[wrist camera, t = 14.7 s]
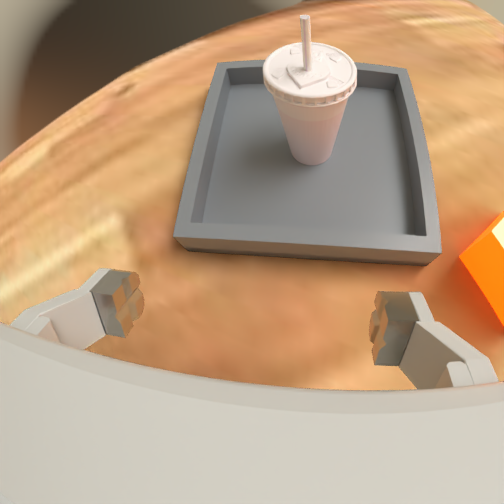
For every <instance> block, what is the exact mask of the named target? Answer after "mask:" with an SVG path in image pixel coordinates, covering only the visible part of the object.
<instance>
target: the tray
mask: <svg viewBox="0 0 504 504" xmlns="http://www.w3.org/2000/svg"><path fill="white" fill-rule="evenodd" d="M264 62H265V60H250V61H234V62H221V63H217V66H216V69H215V72H214V76H213V79H212V82H211V86H210V89H209V92H208V96H207V99H206V102H205V106H204V109H203V113H202V117H201V120H200V124H199V128H198V131H197V135H196V139H195V143H194V146H193V150H192V154H191V158H190V162H189V166H188V170H187V175H186V179H185V183H184V187H183V192H182V196H181V200H180V205H179V210H178V214H177V219H176V224H175V228H174V233H173V237H174V238H175V239H176V240H177V241H178V242H179V243H180V244H181V245H182V246H183V247H184V248H185V249H186V250H188V251H194V252H209V253H225V254H240V255H255V256H270V257H286V258H301V259H317V260H333V261H349V262H365V263H381V264H397V265H413V266H427V265H428V264H429V263H431V262H432V261H433V260H434V259H435V258H437V257H438V256H439V255H440V254H442V248H441V235H440V225H439V216H438V208H437V200H436V193H435V186H434V180H433V174H432V168H431V163H430V157H429V152H428V147H427V143H426V138H425V134H424V129H423V125H422V121H421V117H420V113H419V109H418V105H417V102H416V98H415V95H414V91H413V88H412V84H411V81H410V78H409V75H408V72H407V69H404V68H398V67H391V66H383V65H375V64H366V63H356V62H354V63H355V65H356V68H357V86H356V88H355V90H354V92H353V93H352V94H351V95H350V96H349V97H348V100H347V104H346V107H345V110H344V113H343V117H342V120H341V123H340V127H339V130H338V133H337V136H336V140H335V143H334V146H333V149H332V152H331V155H330V157H329V158H328V159H327V160H326V161H325V162H324V163H322V164H319V165H305V164H302V163H300V162H298V161H297V160H296V159H295V158H294V157H293V155H292V153H291V150H290V147H289V144H288V140H287V137H286V134H285V131H284V128H283V124H282V121H281V118H280V115H279V112H278V109H277V106H276V103H275V101H274V97H273V95H272V94H271V93H270V92H269V91H268V90H267V88H266V86H265V84H264V78H263V64H264Z"/></svg>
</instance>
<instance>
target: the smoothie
mask: <svg viewBox="0 0 504 504" xmlns="http://www.w3.org/2000/svg"><path fill="white" fill-rule="evenodd" d="M300 24H301V37H302V42H300V43H294V44H289V45H286V46H283V47H281V48H279V49H277V50H275V51H274V52H273V53H271V54H270V55H269V56H268V57H267V59H266V60H265V62H264V64H263V78H264V84H265V86H266V88H267V90H268V91H269V92H270V93H271V94H272V95H273V97H274V101H275V103H276V106H277V109H278V112H279V115H280V118H281V121H282V124H283V128H284V131H285V134H286V137H287V140H288V144H289V147H290V150H291V153H292V155H293V157H294V158H295V159H296V160H297V161H298V162H300V163H302V164H305V165H319V164H322V163H324V162H325V161H326V160H327V159H328V158H329V157H330V155H331V152H332V149H333V146H334V143H335V140H336V136H337V133H338V130H339V127H340V123H341V120H342V117H343V113H344V110H345V107H346V104H347V100H348V97H349V96H350V95H351V94H352V93H353V92H354V90H355V88H356V86H357V68H356V65H355V63H354V62H353V60H352V59H351V58H350V57H349V56H348V55H347V54H346V53H344V52H343V51H341V50H339V49H337V48H335V47H332V46H330V45H326V44H322V43H315V42H311V30H310V16H308V15H301V16H300Z"/></svg>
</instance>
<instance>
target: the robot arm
mask: <svg viewBox="0 0 504 504" xmlns="http://www.w3.org/2000/svg"><path fill="white" fill-rule="evenodd" d="M139 285H140V279H139V276H138V274H137V273H136V272H131V271H123V270H115V269H108V268H100V269H98V270H97V271H96V272H95V273H94V274H93V275H92V276H91V277H90V278H89V279H88V280H87V281H86V282H85V283H84V284H83V285H82V286H81V287H80V288H79V289H78V290H75V289H74V290H72V291H69V292H67V293H64V294H62V295H59V296H57V297H54V298H52V299H50V300H47V301H45V302H42V303H40V304H38V305H35V306H33V307H30V308H28V309H26V310H24V311H23V312H22V313H21V314H20V315H19V316H18V317H17V318H16V319H15V320H14V321H13V322H12V323H11V324H10V325H7V324H5V323H2V322H0V504H504V381H501V382H499V380H498V378H497V376H496V374H495V371H494V369H493V367H492V365H491V362H490V360H489V358H487V357H486V356H485V355H483V354H482V353H481V352H479V351H478V350H477V349H475V348H474V347H473V346H471V345H470V344H469V343H467V342H466V341H465V340H463V339H462V338H461V337H459V336H458V335H457V334H455V333H454V332H452V331H451V330H450V329H448V328H447V327H446V326H444V325H443V324H441V323H440V322H435V320H434V318H433V316H432V314H431V311H430V309H429V307H428V305H427V302H426V300H425V298H424V296H423V294H422V293H421V292H384V291H378V292H377V294H376V298H375V307H376V310H375V311H374V312H372V314H371V319H370V326H369V336H370V341H371V342H372V343H373V344H374V345H373V348H372V354H373V360H374V365H384V366H399V368H400V369H401V370H402V371H403V373H404V374H405V375H406V376H407V377H408V378H409V380H410V381H411V382H412V383H413V384H414V385H415V387H416V388H417V389H416V390H377V391H371V390H329V389H310V388H296V387H283V386H273V385H263V384H254V383H245V382H237V381H230V380H222V379H215V378H209V377H203V376H196V375H191V374H185V373H179V372H174V371H169V370H164V369H159V368H154V367H149V366H145V365H140V364H136V363H132V362H127V361H123V360H119V359H115V358H111V357H107V356H103V355H100V354H96V353H92V352H89V351H85V350H84V349H86V348H87V347H89V346H90V345H92V344H93V343H95V342H96V341H98V340H99V339H101V338H102V337H104V336H105V335H106V334H108V335H113V336H118V337H124V338H126V336H127V335H128V333H129V332H130V330H131V329H132V327H133V322H132V321H134V320H136V319H138V318H139V317H140V316H141V314H142V312H143V308H144V297H143V293H142V292H141V291H140V290H139V288H138V286H139Z"/></svg>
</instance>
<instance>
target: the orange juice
mask: <svg viewBox="0 0 504 504" xmlns="http://www.w3.org/2000/svg"><path fill="white" fill-rule="evenodd" d="M459 258H460V259H461V260H462V262H463V263H464V265H465V266H466V268H467V269H468V270H469V272H470V273H471V275H472V276H473V278H474V279H475V281H476V282H477V284H478V285H479V287H480V288H481V290H482V291H483V293H484V295H485V296H486V298H487V299H488V301H489V303H490V304H491V306H492V307H493V309H494V311H495V312H496V314H497V316H498V317H499V319H500V321H501V323H502V324H503V326H504V211H503V212H502V213H501V214H500V215H499V216H498V217H497V218H496V219H495V220H494V221H493V222H492V223H491V224H490V226H489V227H488V228H487V229H486V230H485V231H484V232H483V233H482V234H481V235H480V236H479V237H478V238H477V239H476V240H475V241H474V242H473V243H472V244H471V245H470V246H469V247H468V248H467V249H466V250H465V251H464V252H463V253H462V254H461V255H460V256H459Z"/></svg>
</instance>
